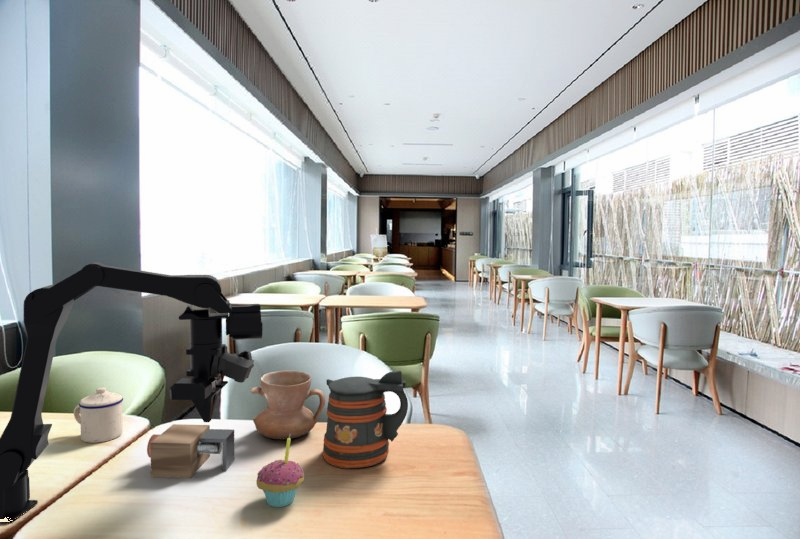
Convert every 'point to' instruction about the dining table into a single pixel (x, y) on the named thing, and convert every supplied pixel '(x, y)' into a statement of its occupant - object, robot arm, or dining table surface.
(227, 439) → the bracket
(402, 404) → the beer stein
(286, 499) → the cupcake
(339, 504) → the dining table surface
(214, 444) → the pin
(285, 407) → the ceramic jug
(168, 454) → the hitch block
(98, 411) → the teacup with lid
